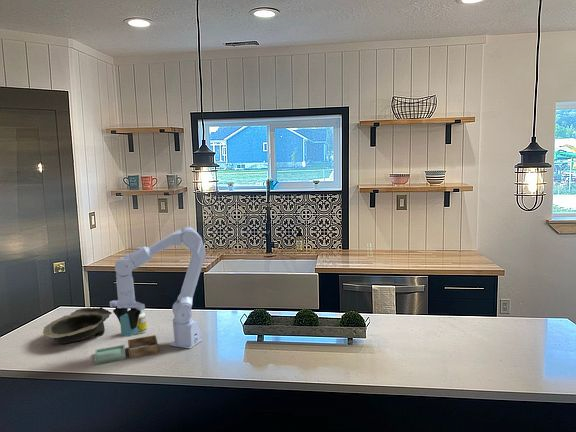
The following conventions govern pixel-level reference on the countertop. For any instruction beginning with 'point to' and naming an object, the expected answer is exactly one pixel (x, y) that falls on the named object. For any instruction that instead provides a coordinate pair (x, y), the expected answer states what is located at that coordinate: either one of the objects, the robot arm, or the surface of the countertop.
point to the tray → (110, 354)
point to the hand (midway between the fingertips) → (129, 327)
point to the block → (126, 326)
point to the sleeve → (143, 350)
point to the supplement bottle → (141, 323)
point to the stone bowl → (77, 325)
